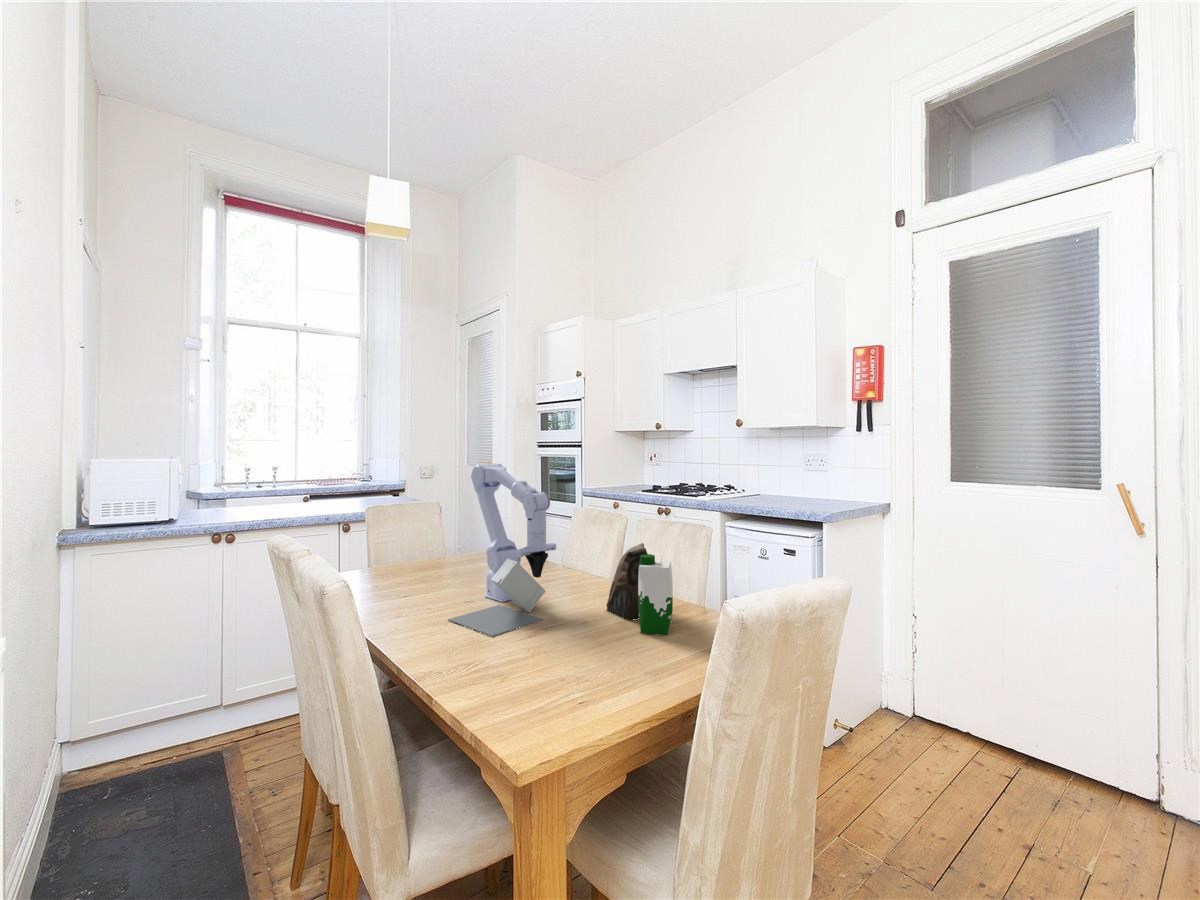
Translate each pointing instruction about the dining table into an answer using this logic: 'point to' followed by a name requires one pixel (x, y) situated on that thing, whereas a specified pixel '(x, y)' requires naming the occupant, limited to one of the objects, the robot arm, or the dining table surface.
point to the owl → (626, 585)
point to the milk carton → (655, 595)
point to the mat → (495, 620)
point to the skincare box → (518, 585)
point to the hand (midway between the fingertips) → (536, 576)
